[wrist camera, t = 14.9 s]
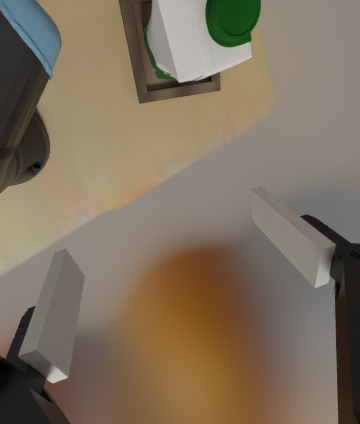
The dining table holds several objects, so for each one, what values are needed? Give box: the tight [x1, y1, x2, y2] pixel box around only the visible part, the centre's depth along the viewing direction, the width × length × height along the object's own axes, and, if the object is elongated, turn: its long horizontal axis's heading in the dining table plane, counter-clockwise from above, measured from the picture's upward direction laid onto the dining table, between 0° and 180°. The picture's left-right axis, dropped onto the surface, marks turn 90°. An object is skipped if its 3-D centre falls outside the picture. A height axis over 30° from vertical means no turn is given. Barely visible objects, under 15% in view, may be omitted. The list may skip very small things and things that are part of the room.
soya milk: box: [142, 0, 261, 83], centre depth 27 cm, size 9×9×20 cm
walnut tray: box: [119, 0, 220, 104], centre depth 36 cm, size 14×14×2 cm
